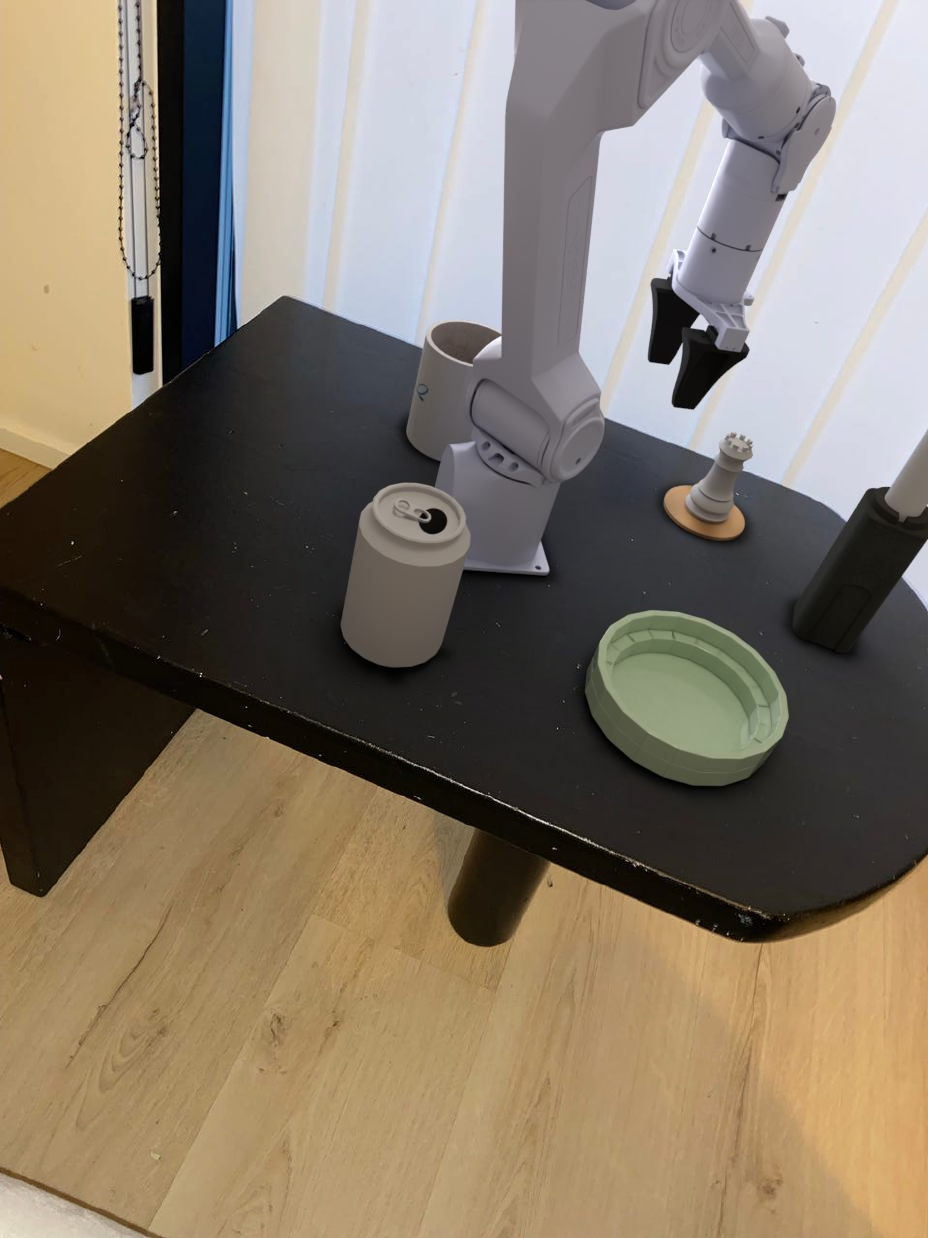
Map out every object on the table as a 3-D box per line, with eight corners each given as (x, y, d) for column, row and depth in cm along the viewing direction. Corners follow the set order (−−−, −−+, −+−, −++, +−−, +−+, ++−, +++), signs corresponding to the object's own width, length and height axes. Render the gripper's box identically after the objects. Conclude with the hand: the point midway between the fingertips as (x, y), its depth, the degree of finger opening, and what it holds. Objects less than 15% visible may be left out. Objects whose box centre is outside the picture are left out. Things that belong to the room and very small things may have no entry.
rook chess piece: (678, 493, 91) (710, 422, 86) (720, 499, 92) (755, 429, 87) (690, 522, 88) (724, 450, 83) (733, 527, 89) (770, 457, 84)
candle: (850, 621, 83) (1024, 368, 66) (849, 657, 79) (1033, 399, 63) (794, 599, 84) (953, 343, 67) (791, 635, 80) (957, 372, 63)
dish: (610, 788, 64) (627, 756, 61) (565, 637, 73) (578, 604, 71) (796, 791, 67) (819, 760, 65) (729, 646, 77) (747, 615, 75)
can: (427, 688, 66) (464, 559, 58) (325, 657, 66) (348, 524, 58) (449, 620, 72) (486, 493, 64) (355, 591, 72) (380, 461, 64)
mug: (479, 475, 87) (505, 379, 80) (392, 443, 88) (412, 345, 81) (514, 416, 96) (541, 325, 89) (436, 387, 97) (456, 295, 90)
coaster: (677, 537, 87) (679, 533, 86) (653, 484, 92) (654, 481, 92) (755, 544, 89) (757, 540, 88) (726, 492, 94) (728, 489, 94)
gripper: (809, 283, 72) (737, 433, 81) (743, 208, 83) (686, 348, 92) (726, 269, 71) (662, 424, 80) (670, 194, 81) (618, 339, 90)
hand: (670, 383), depth 86 cm, fingers open, 7 cm apart
